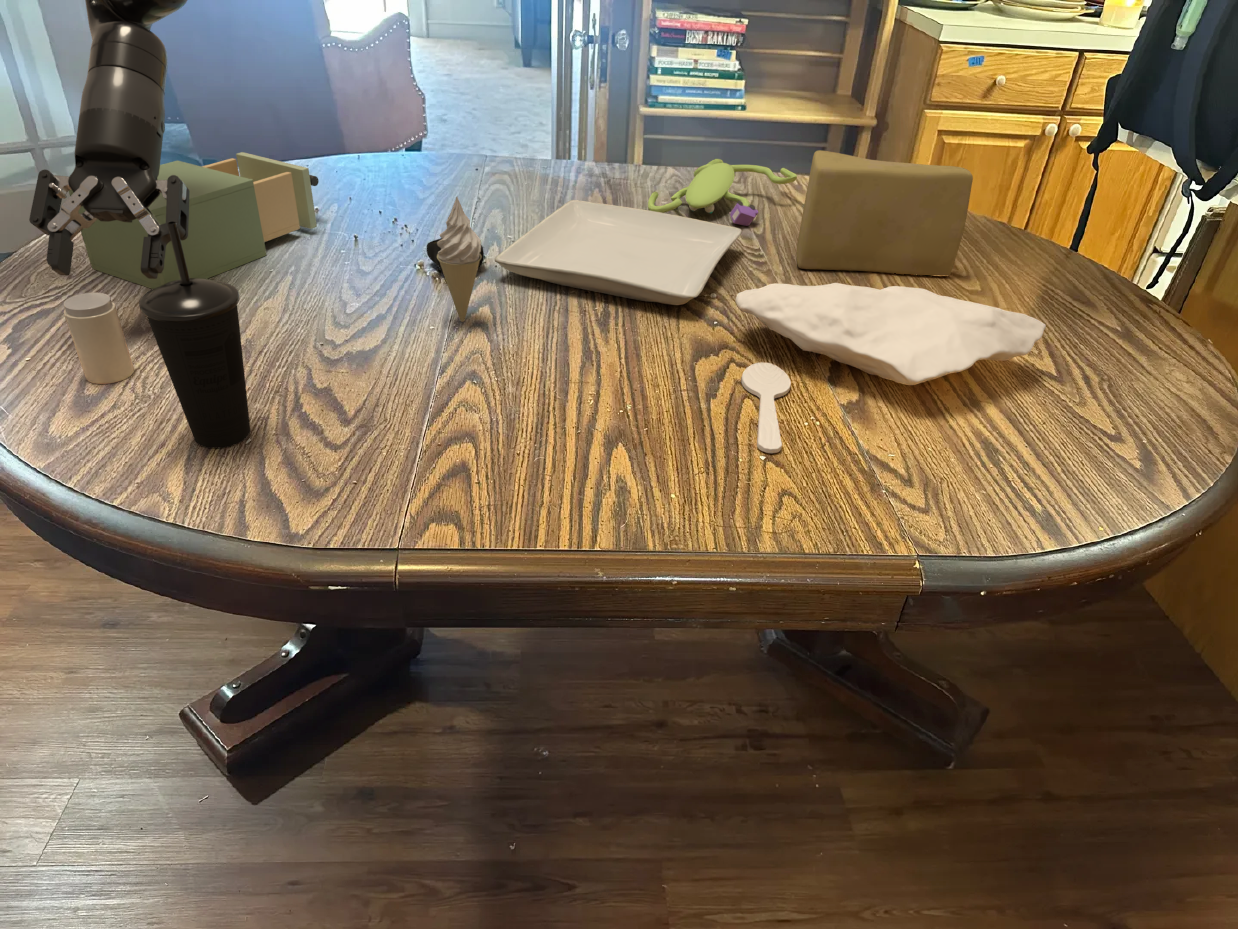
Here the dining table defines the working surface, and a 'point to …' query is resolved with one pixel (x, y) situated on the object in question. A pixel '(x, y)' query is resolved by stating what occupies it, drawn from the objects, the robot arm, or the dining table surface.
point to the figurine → (719, 190)
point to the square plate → (621, 251)
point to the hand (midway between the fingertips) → (104, 274)
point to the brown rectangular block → (882, 216)
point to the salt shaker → (98, 338)
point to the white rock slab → (892, 328)
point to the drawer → (276, 192)
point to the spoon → (767, 401)
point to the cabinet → (215, 230)
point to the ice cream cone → (459, 257)
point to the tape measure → (434, 249)
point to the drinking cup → (201, 351)
